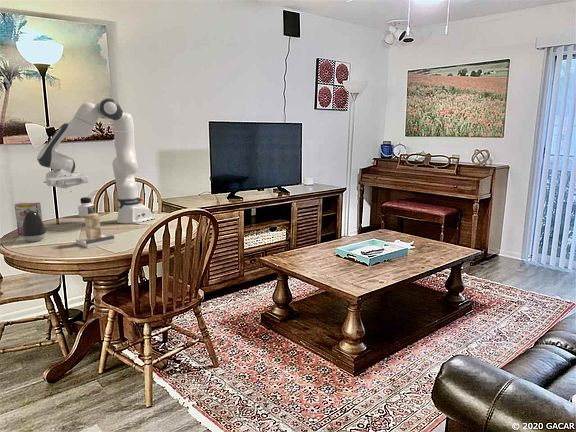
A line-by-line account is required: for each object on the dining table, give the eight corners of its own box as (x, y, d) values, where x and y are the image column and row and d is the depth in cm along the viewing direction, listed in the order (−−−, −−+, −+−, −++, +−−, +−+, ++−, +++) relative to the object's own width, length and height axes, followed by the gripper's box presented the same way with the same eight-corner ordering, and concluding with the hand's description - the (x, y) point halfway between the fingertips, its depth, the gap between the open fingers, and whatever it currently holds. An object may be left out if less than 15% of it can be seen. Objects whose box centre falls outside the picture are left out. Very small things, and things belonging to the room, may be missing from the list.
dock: (102, 238, 220) (101, 231, 220) (114, 242, 212) (113, 235, 211) (76, 243, 211) (75, 236, 210) (87, 248, 202) (87, 241, 202)
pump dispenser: (37, 237, 223) (33, 208, 220) (51, 239, 219) (47, 209, 216) (18, 241, 214) (14, 211, 211) (31, 244, 210) (27, 213, 207)
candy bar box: (17, 234, 228) (13, 204, 225) (22, 232, 233) (17, 202, 230) (40, 234, 230) (36, 203, 227) (44, 231, 235) (40, 202, 231)
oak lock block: (96, 236, 215) (94, 213, 213) (101, 238, 212) (99, 214, 209) (86, 238, 212) (84, 214, 209) (91, 240, 208) (88, 216, 206)
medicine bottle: (88, 217, 271) (86, 198, 269) (78, 216, 273) (76, 198, 270) (95, 215, 278) (94, 196, 276) (86, 214, 280) (84, 196, 277)
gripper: (41, 175, 223) (51, 177, 214) (81, 172, 238) (92, 174, 229) (42, 187, 224) (53, 190, 215) (82, 183, 239) (93, 186, 230)
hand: (73, 182), depth 222 cm, fingers open, 8 cm apart
